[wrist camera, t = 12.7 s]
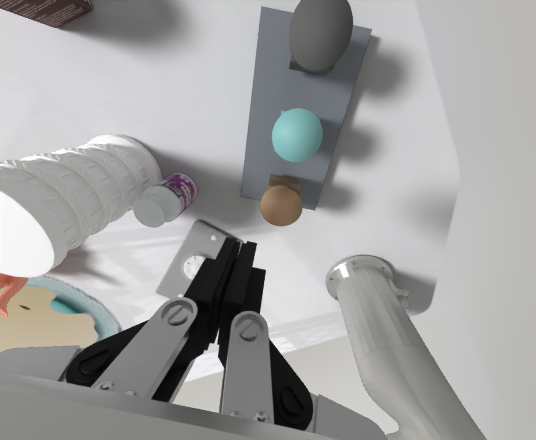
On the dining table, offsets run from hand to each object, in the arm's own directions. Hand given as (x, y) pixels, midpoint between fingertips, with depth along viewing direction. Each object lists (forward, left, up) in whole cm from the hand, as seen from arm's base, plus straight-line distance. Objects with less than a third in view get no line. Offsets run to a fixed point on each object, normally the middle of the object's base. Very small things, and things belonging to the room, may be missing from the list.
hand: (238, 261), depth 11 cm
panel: (-3, -5, -23) cm, 23 cm away
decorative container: (+22, +6, -23) cm, 32 cm away
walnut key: (-3, +3, -19) cm, 20 cm away
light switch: (+9, +20, -23) cm, 32 cm away
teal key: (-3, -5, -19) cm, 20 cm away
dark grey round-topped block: (-3, -13, -19) cm, 24 cm away
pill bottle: (+13, +7, -23) cm, 27 cm away
